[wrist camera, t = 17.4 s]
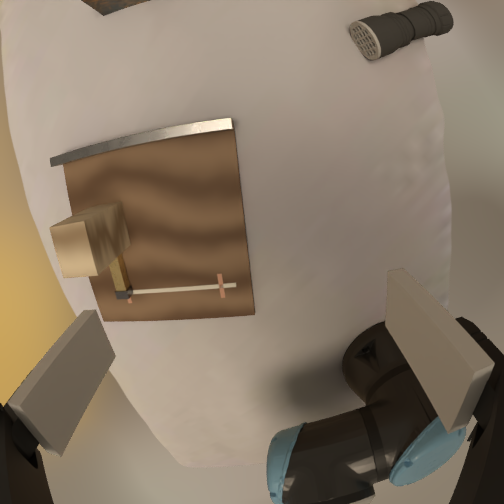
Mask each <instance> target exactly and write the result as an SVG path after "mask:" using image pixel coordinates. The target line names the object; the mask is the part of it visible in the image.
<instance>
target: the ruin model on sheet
mask: <svg viewBox="0 0 504 504" xmlns="http://www.w3.org/2000/svg"><path fill="white" fill-rule="evenodd" d="M81 1H83V2H84V3H86V4H87V5H89V6H90V7H92V8H93V9H95V10H96V11H98V12H99V13H101V14H102V15H103V16H104V15H107V14H110V13H112V12H115V11H118V10H121V9H124V8H127V7H130V6H133V5H136V4H139V3H143V2H146V1H149V0H81Z"/></svg>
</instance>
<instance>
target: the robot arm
mask: <svg viewBox="0 0 504 504" xmlns="http://www.w3.org/2000/svg"><path fill="white" fill-rule="evenodd" d="M115 357H116V355H115V353H114V351H113V349H112V347H111V344H110V342H109V340H108V338H107V335H106V333H105V331H104V328H103V326H102V324H101V321H100V319H99V316H98V314H97V311H96V310H84V311H83V312H82V313H81V314H80V315H79V316H78V317H77V318H76V320H75V321H74V322H73V323H72V324H71V325H70V326H69V327H68V329H67V330H66V331H65V332H64V333H63V334H62V336H61V337H60V338H59V339H58V340H57V341H56V342H55V344H54V345H53V346H52V347H51V348H50V349H49V351H48V352H47V353H46V354H45V355H44V357H43V358H42V359H41V360H40V361H39V363H38V364H37V365H36V366H35V368H34V369H33V370H32V371H31V372H30V373H29V374H28V376H27V377H26V379H25V380H24V381H23V382H22V383H21V385H20V386H19V387H18V388H17V390H16V391H15V392H14V393H13V395H12V396H11V397H10V399H9V400H8V402H7V403H6V404H5V405H4V407H3V406H2V404H1V403H0V504H54V503H53V500H52V496H51V493H50V489H49V486H48V482H47V478H46V474H45V470H44V465H43V461H42V456H41V453H40V451H39V450H38V449H37V446H38V444H39V443H40V445H41V446H42V447H43V448H44V449H45V450H46V451H47V452H48V453H51V454H54V455H57V456H60V457H61V456H62V455H63V452H64V450H65V448H66V446H67V445H68V443H69V441H70V439H71V437H72V435H73V433H74V431H75V429H76V427H77V425H78V423H79V421H80V419H81V418H82V416H83V414H84V412H85V410H86V408H87V406H88V404H89V403H90V401H91V399H92V397H93V395H94V394H95V392H96V390H97V388H98V387H99V385H100V383H101V381H102V379H103V378H104V376H105V374H106V373H107V371H108V369H109V367H110V366H111V364H112V362H113V361H114V359H115ZM342 369H343V373H344V376H345V379H346V382H347V384H348V385H349V387H350V388H351V389H352V390H353V391H354V392H355V393H356V394H357V395H358V396H359V397H360V398H361V399H362V400H363V401H364V403H365V404H366V406H365V407H362V408H359V409H355V410H352V411H350V412H346V413H343V414H340V415H336V416H333V417H329V418H326V419H322V420H318V421H315V422H311V423H306V422H305V423H302V424H301V425H299V426H295V427H292V428H288V429H285V430H282V431H279V432H278V433H277V434H276V435H275V436H274V437H273V439H272V440H271V443H270V446H269V450H268V455H267V485H268V490H269V491H270V497H271V499H272V502H273V503H274V504H370V503H371V501H372V500H373V498H374V497H375V492H374V488H373V484H374V483H376V482H380V481H383V480H385V479H388V478H389V480H390V482H391V483H392V484H393V485H395V486H403V485H406V484H407V485H408V484H411V483H414V482H416V481H418V480H420V479H422V478H424V477H426V476H428V475H429V474H431V473H432V472H434V471H435V470H437V469H438V468H439V467H441V466H442V465H443V464H444V463H446V462H447V461H448V460H449V459H450V458H451V457H452V456H453V455H454V454H455V453H456V452H457V450H458V449H459V448H460V446H461V444H462V443H463V441H464V438H465V436H466V426H467V424H468V423H469V421H470V419H471V417H472V415H474V417H475V418H476V420H477V421H478V422H477V424H476V425H475V427H474V429H473V431H472V432H471V434H470V436H469V438H468V440H467V441H470V440H471V443H470V446H469V450H468V453H467V456H466V459H465V463H464V466H463V469H462V471H461V474H460V477H459V480H458V483H457V485H456V488H455V490H454V493H453V496H452V498H451V500H450V502H449V504H504V355H503V354H502V353H501V351H500V350H499V349H498V348H497V347H496V346H495V345H494V344H493V343H492V342H491V341H490V340H489V339H487V337H486V335H485V334H483V332H481V331H480V329H479V328H478V327H477V326H476V325H475V324H474V323H473V322H471V321H469V320H467V319H465V318H463V317H460V318H456V319H454V318H453V317H452V316H451V315H450V314H449V312H448V311H447V310H446V309H445V308H444V307H443V306H442V305H441V304H440V303H439V302H438V301H437V300H436V299H435V298H434V297H433V296H432V295H431V294H430V293H429V292H428V291H427V290H426V289H425V288H424V287H422V286H421V285H420V284H419V283H418V282H417V281H416V280H415V279H414V278H413V277H412V276H411V275H410V274H409V273H408V272H407V271H406V270H405V269H404V268H402V269H397V270H392V271H388V279H387V303H386V319H385V322H383V323H380V324H377V325H375V326H373V327H371V328H369V329H368V330H366V331H365V332H363V333H362V334H361V335H360V336H358V337H357V338H356V339H355V340H354V341H353V343H352V344H351V345H350V346H349V348H348V350H347V351H346V353H345V355H344V358H343V363H342ZM471 438H472V439H471Z"/></svg>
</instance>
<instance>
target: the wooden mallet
mask: <svg viewBox="0 0 504 504" xmlns="http://www.w3.org/2000/svg"><path fill="white" fill-rule="evenodd" d="M50 232H51V236H52V239H53V243H54V247H55V251H56V254H57V258H58V261H59V265H60V268H61V271H62V274H63V278H72V277H86V276H98V275H99V274H100V273H101V272H102V271H103V270H104V269H105V268H106V267H107V266H108V265H109V267H110V271H111V274H112V278H113V281H114V285H115V288H116V291H115V295H116V298H117V300H118V299H130V297H131V296H132V294H133V290H132V286H130V283H129V280H128V276H127V272H126V268H125V264H124V260H123V256H122V252H123V251H124V250H126V249H127V248H128V247H129V246H130V245H131V243H130V239H129V234H128V229H127V225H126V220H125V215H124V209H123V204H122V201H120V202H115V203H109V204H103V205H98V206H93V207H90V208H88V209H85V210H83V211H81V212H79V213H77V214H75V215H73V216H71V217H69V218H67V219H65V220H63V221H61V222H59V223H57V224H55V225H53V226H51V227H50Z"/></svg>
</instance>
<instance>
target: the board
mask: <svg viewBox="0 0 504 504" xmlns="http://www.w3.org/2000/svg"><path fill="white" fill-rule="evenodd" d="M50 163H51V167H54V166H58V165H63V167H64V173H65V179H66V185H67V190H68V196H69V201H70V206H71V210H72V215H75V214H77V213H79V212H81V211H83V210H85V209H88V208H90V207H93V206H98V205H103V204H109V203H115V202H120V201H122V204H123V209H124V215H125V220H126V225H127V229H128V234H129V239H130V243H131V245H130V246H129V247H128V248H127V249H126V250H124V251H123V252H122V256H123V260H124V264H125V268H126V272H127V276H128V280H129V283H130V286H132V290H133V294H132V296H131V297H130V299H118V300H117V298H116V295H115V291H116V288H115V285H114V281H113V278H112V274H111V271H110V267H109V265H108V266H107V267H106V268H105V269H104V270H103V271H102V272H101V273H100V274H99V275H98V276H89V279H90V283H91V286H92V289H93V292H94V295H95V298H96V301H97V304H98V307H99V309H100V312H101V315H102V318H103V320H104V321H158V320H183V319H203V318H219V317H234V316H247V315H255V310H254V301H253V292H252V284H251V275H250V266H249V257H248V249H247V240H246V231H245V222H244V213H243V204H242V195H241V186H240V177H239V168H238V159H237V150H236V141H235V132H234V123H233V120H232V119H231V118H226V119H218V120H211V121H204V122H197V123H191V124H185V125H179V126H174V127H168V128H163V129H158V130H153V131H148V132H143V133H139V134H134V135H130V136H126V137H122V138H118V139H114V140H110V141H106V142H102V143H98V144H95V145H91V146H88V147H84V148H81V149H77V150H74V151H71V152H68V153H64V154H61V155H58V156H55V157H52V158H50Z"/></svg>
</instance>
